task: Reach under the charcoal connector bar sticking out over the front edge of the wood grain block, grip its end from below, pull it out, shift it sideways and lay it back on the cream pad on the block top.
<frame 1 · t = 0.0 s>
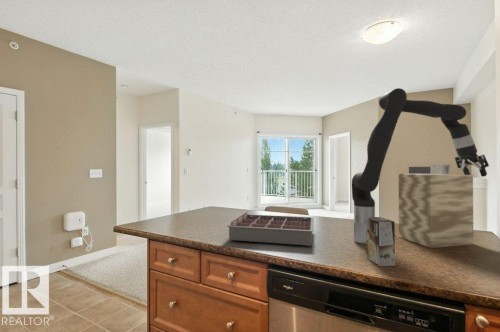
hand: (475, 175, 124), 31 cm above the worktop, tool tilted 20°, fingers open, 8 cm apart
connector bar: (427, 174, 132), point 32 cm above the worktop, touching wood grain block
organizer tray: (273, 237, 131), on the worktop
coffee box: (380, 262, 95), on the worktop
wood grain block: (428, 238, 126), on the worktop
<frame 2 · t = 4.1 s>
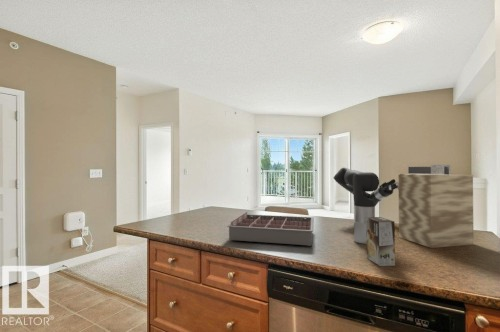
hand: (400, 180, 149), 28 cm above the worktop, tool pointing upward, fingers open, 8 cm apart
nothing on the worktop moved.
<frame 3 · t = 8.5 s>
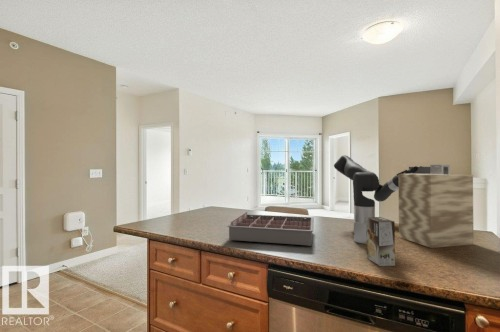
hand: (419, 167, 136), 35 cm above the worktop, tool pointing upward, fingers closed on connector bar, 3 cm apart
connector bar: (427, 174, 132), point 32 cm above the worktop, touching gripper, wood grain block
everything else where it was.
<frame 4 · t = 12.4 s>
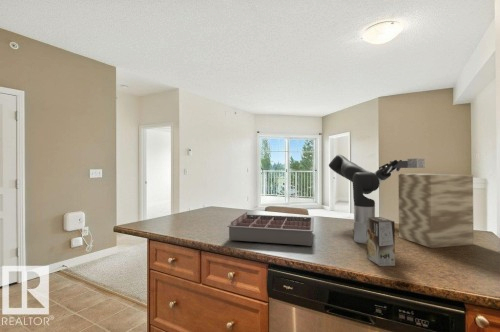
hand: (399, 161, 147), 39 cm above the worktop, tool pointing upward, fingers closed on connector bar, 3 cm apart
connector bar: (405, 167, 143), point 35 cm above the worktop, touching gripper
everything else where it was.
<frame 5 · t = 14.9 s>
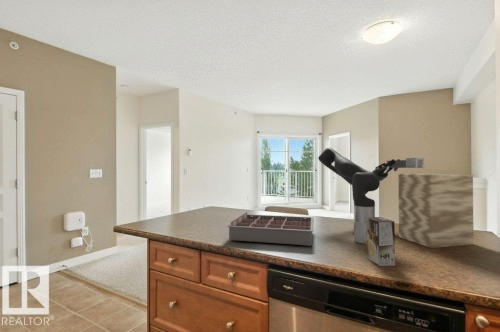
hand: (396, 160, 138), 39 cm above the worktop, tool pointing upward, fingers closed on connector bar, 3 cm apart
connector bar: (403, 167, 133), point 35 cm above the worktop, touching gripper
everything else where it was.
when the fingers open (37 cm above the worktop, at t = 16.8 s): connector bar stays where it is, resting on wood grain block.
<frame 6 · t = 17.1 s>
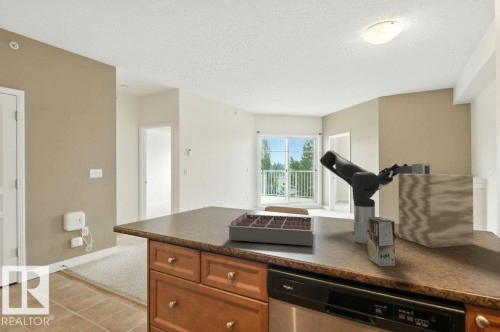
hand: (402, 165, 134), 37 cm above the worktop, tool pointing upward, fingers open, 5 cm apart
connector bar: (409, 173, 130), point 32 cm above the worktop, touching wood grain block
everything else where it was.
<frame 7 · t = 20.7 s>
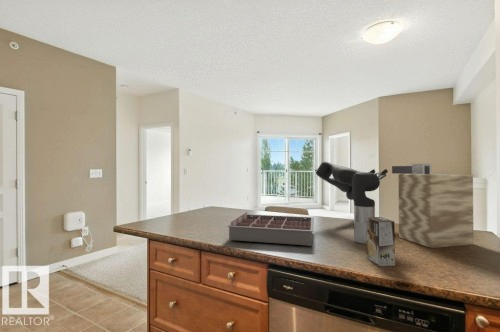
hand: (380, 170, 150), 34 cm above the worktop, tool pointing upward, fingers open, 8 cm apart
nothing on the worktop moved.
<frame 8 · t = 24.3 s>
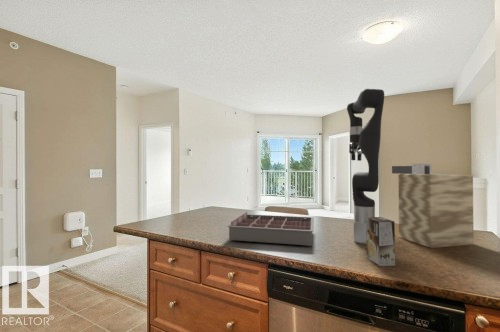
hand: (356, 160, 157), 40 cm above the worktop, tool pointing down, fingers open, 8 cm apart
nothing on the worktop moved.
at the end: connector bar inside the target area (0.1 cm from its centre), point 32.4 cm above the worktop; the gripper is holding nothing; connector bar tilted 0° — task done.
